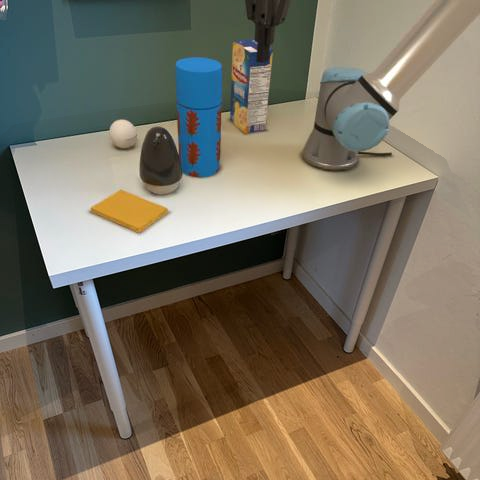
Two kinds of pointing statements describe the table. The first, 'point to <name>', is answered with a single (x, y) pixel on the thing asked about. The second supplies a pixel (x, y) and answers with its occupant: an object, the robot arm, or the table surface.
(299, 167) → the table surface
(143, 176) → the black glossy oval body
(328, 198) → the table surface
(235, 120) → the cracker box
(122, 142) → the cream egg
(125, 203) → the mustard mat
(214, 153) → the thermos
